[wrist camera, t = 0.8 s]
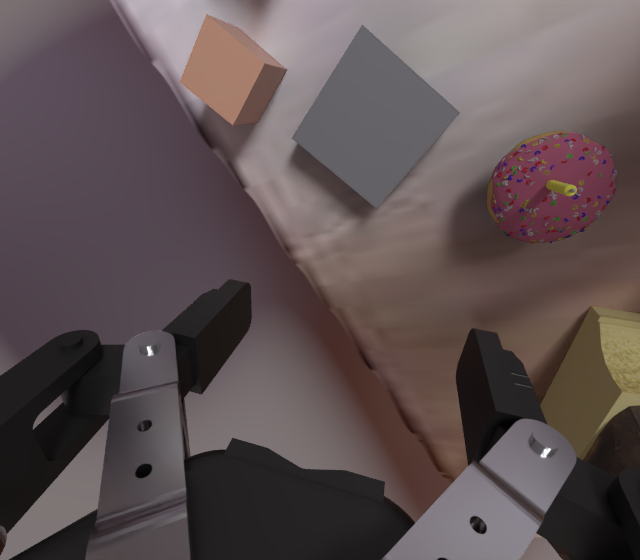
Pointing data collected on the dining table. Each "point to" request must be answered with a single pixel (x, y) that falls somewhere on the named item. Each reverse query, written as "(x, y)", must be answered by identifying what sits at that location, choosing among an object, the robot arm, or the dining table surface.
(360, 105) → the plinth
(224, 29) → the terracotta cube
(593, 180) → the cupcake
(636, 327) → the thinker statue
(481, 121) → the dining table surface
